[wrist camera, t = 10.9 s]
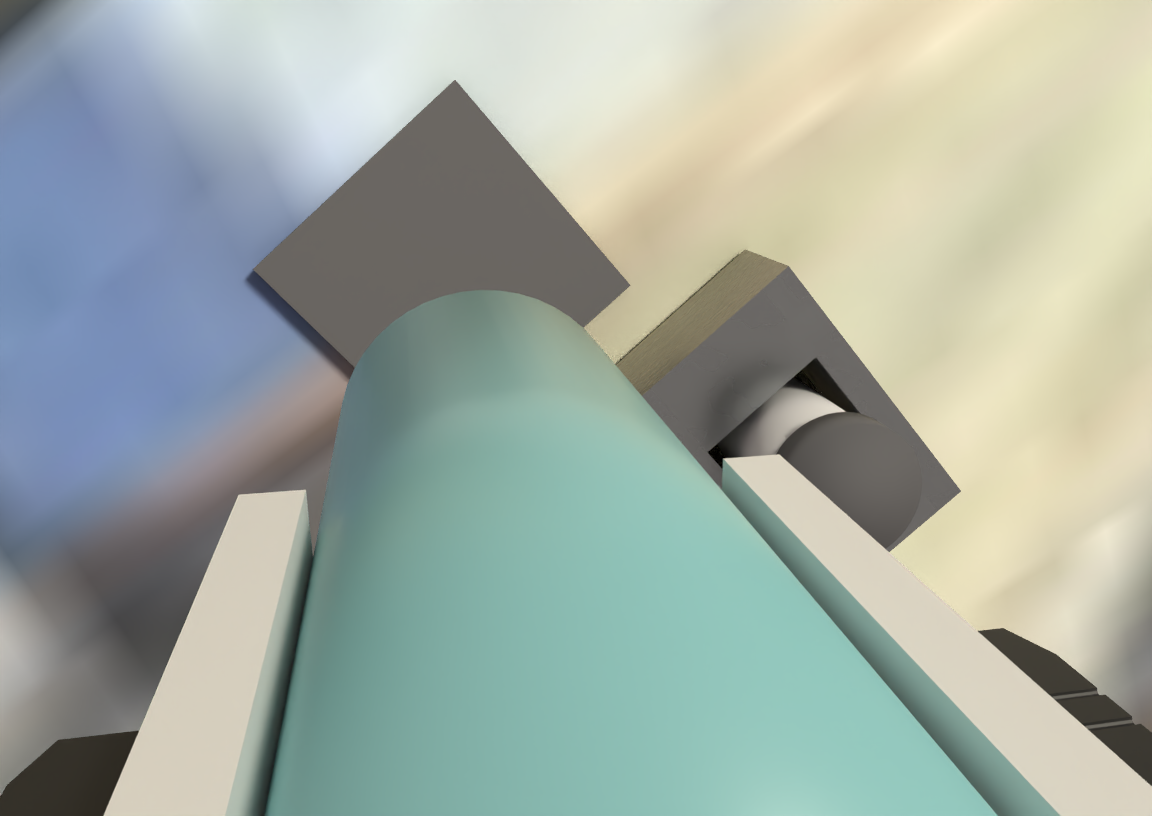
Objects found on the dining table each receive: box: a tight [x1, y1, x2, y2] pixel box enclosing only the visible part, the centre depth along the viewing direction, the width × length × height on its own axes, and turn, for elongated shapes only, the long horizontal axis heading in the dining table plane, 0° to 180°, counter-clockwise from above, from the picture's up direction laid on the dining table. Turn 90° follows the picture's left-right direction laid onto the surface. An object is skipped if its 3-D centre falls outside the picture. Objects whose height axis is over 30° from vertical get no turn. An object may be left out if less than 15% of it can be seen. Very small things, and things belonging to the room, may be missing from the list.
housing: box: [616, 250, 961, 552], centre depth 34 cm, size 17×11×4 cm, turn 131°
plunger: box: [717, 377, 922, 549], centre depth 31 cm, size 5×5×7 cm
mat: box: [253, 80, 630, 368], centre depth 31 cm, size 9×9×1 cm
